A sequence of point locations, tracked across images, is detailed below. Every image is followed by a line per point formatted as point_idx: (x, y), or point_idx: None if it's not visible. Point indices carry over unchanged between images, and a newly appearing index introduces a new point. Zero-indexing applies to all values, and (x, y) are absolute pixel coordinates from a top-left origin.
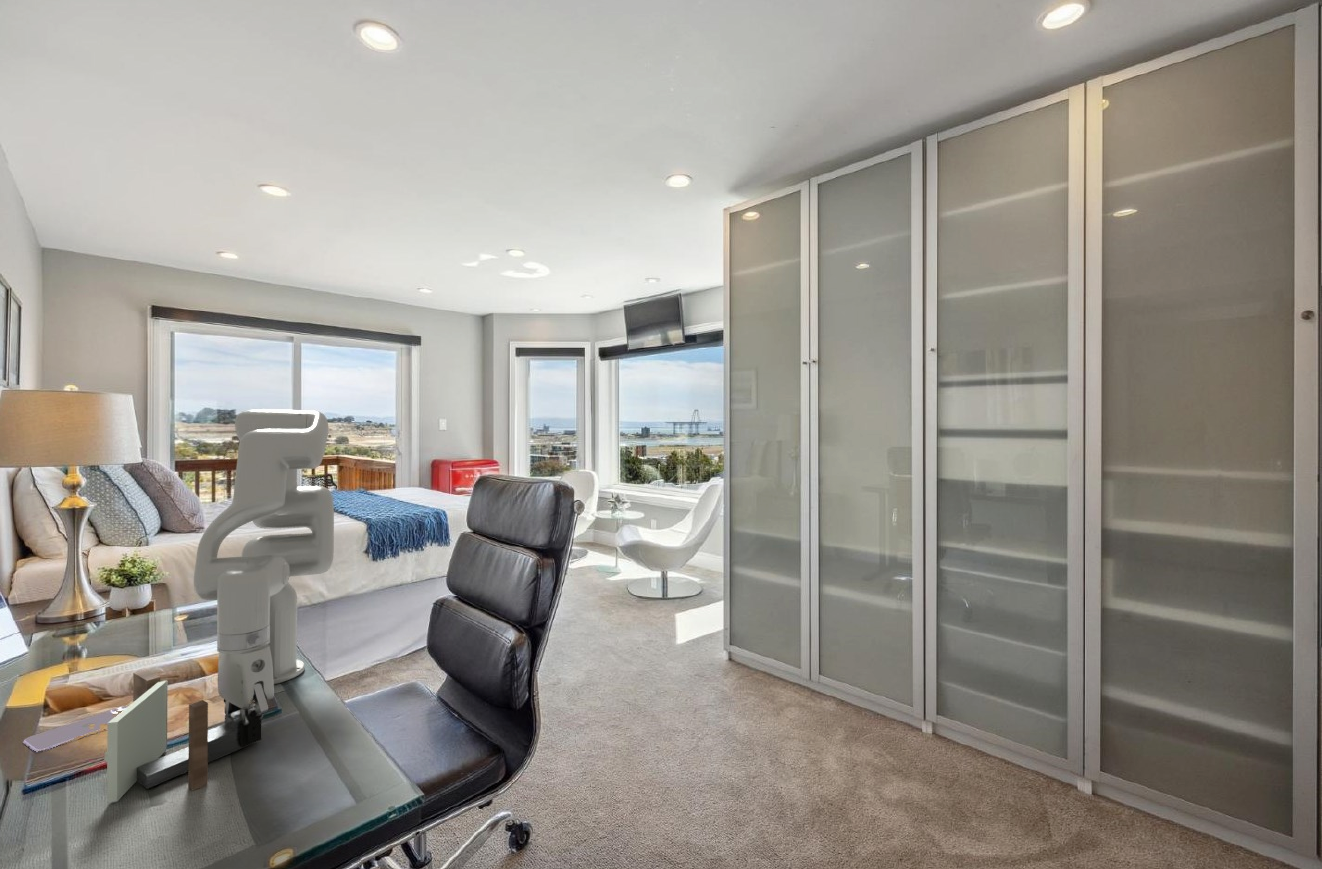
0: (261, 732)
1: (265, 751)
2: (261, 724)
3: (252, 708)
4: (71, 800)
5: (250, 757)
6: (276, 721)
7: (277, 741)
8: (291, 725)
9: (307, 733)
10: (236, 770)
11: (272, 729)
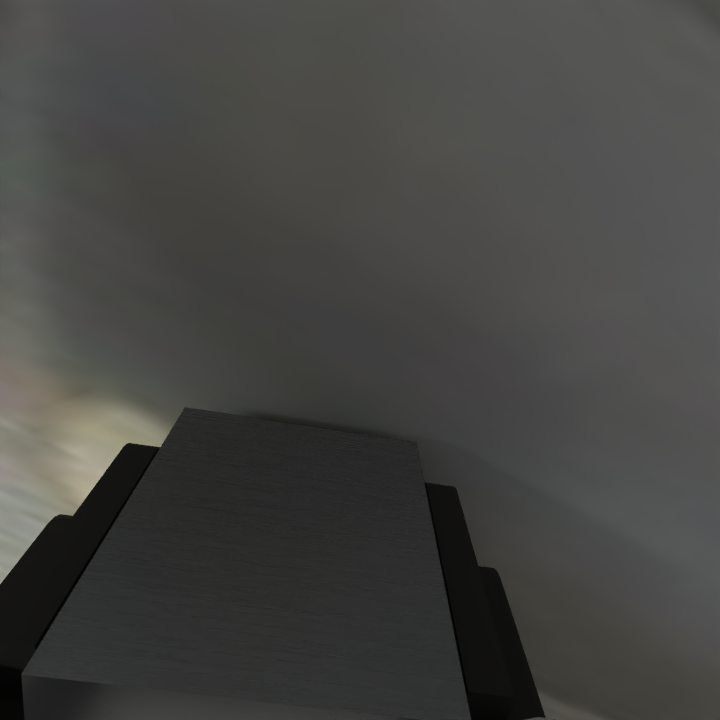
0: (423, 485)
1: (562, 484)
2: (438, 555)
3: (172, 706)
4: None
5: (521, 573)
6: (91, 35)
7: (520, 341)
8: (360, 30)
9: (711, 95)
10: (574, 688)
11: (244, 196)
